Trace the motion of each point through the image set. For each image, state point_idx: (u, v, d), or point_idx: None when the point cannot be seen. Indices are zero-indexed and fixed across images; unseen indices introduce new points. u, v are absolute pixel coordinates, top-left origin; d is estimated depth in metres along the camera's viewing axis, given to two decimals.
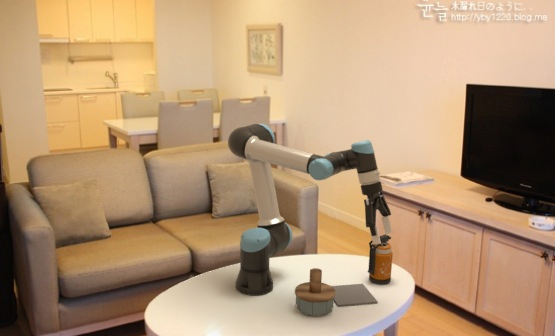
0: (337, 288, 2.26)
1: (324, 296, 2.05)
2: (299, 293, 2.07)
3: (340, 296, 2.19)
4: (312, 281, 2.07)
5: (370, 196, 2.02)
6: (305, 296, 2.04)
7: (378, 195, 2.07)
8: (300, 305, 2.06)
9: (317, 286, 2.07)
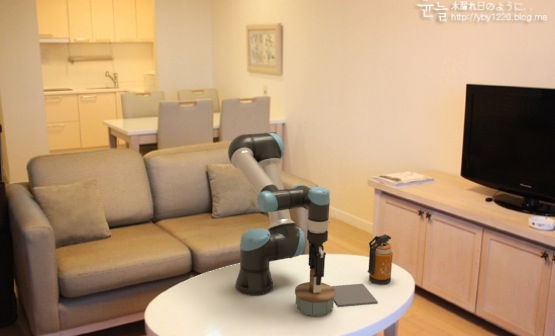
0: (337, 288, 2.26)
1: (324, 296, 2.05)
2: (299, 293, 2.07)
3: (340, 296, 2.19)
4: (312, 281, 2.07)
5: (321, 245, 2.01)
6: (305, 296, 2.04)
7: None
8: (300, 305, 2.06)
9: None
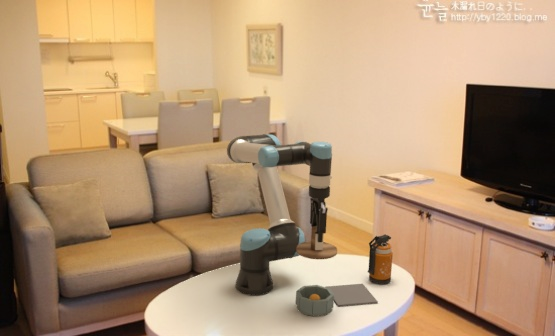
0: (337, 288, 2.26)
1: (326, 253, 2.01)
2: (300, 251, 2.03)
3: (340, 296, 2.19)
4: (314, 239, 2.03)
5: (323, 200, 1.98)
6: (307, 254, 2.01)
7: None
8: (300, 305, 2.06)
9: None
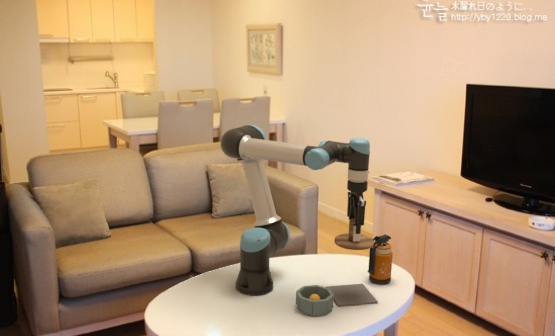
0: (337, 288, 2.26)
1: (363, 244, 2.12)
2: (339, 242, 2.13)
3: (340, 296, 2.19)
4: (352, 231, 2.13)
5: (361, 194, 2.08)
6: (345, 245, 2.11)
7: None
8: (300, 305, 2.06)
9: None
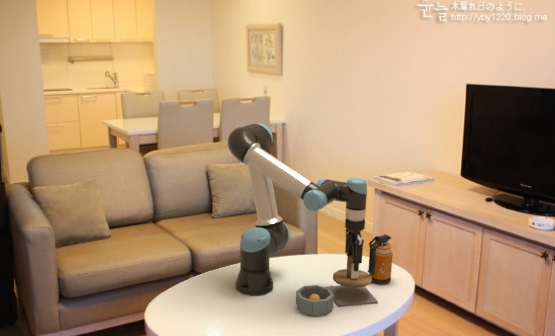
0: (337, 288, 2.26)
1: (361, 281, 2.15)
2: (337, 279, 2.17)
3: (340, 296, 2.19)
4: (350, 268, 2.17)
5: (359, 232, 2.12)
6: (344, 282, 2.14)
7: None
8: (300, 305, 2.06)
9: None
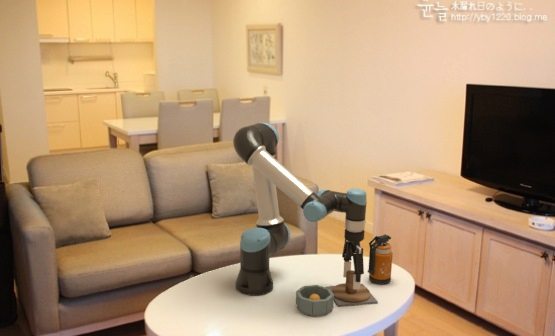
0: None
1: (360, 296, 2.17)
2: (336, 294, 2.19)
3: None
4: (348, 283, 2.18)
5: (358, 243, 2.13)
6: (342, 297, 2.16)
7: None
8: (300, 305, 2.06)
9: None
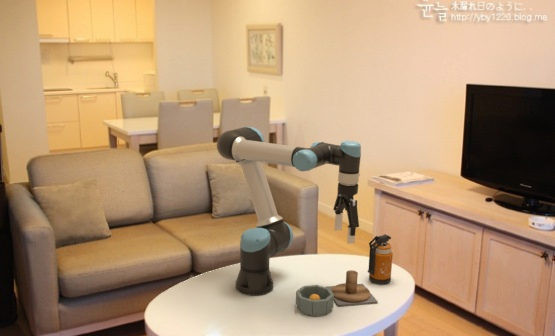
0: None
1: (360, 296, 2.17)
2: (336, 294, 2.19)
3: None
4: (348, 283, 2.18)
5: (352, 197, 2.07)
6: (342, 297, 2.16)
7: None
8: (300, 305, 2.06)
9: (353, 287, 2.19)
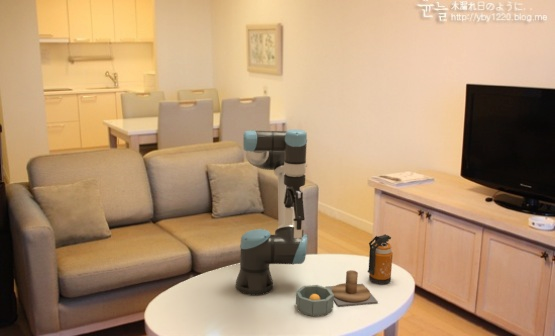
0: None
1: (360, 296, 2.17)
2: (336, 294, 2.19)
3: None
4: (348, 283, 2.18)
5: (298, 188, 1.95)
6: (342, 297, 2.16)
7: None
8: (300, 305, 2.06)
9: (353, 287, 2.19)
